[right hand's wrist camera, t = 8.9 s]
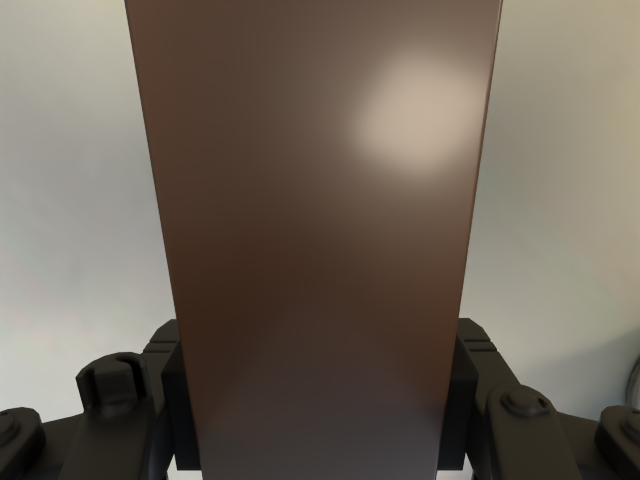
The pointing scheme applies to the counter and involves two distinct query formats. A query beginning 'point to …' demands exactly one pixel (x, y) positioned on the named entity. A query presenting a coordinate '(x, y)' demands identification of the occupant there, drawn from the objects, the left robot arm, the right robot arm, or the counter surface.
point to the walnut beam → (316, 220)
